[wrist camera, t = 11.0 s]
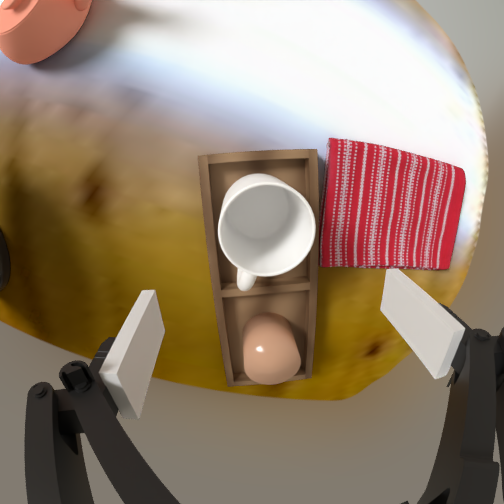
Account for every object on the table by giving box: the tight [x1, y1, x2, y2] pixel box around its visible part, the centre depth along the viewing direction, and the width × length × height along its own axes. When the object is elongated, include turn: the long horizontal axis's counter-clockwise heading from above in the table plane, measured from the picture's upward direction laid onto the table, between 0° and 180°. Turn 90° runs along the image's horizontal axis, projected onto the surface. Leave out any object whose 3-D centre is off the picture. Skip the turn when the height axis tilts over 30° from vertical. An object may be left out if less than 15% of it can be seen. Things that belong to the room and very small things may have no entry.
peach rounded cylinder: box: [242, 312, 301, 385], centre depth 36 cm, size 7×7×7 cm
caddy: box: [198, 149, 319, 386], centre depth 36 cm, size 13×33×3 cm, turn 4°
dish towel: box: [318, 138, 466, 270], centre depth 35 cm, size 17×24×3 cm
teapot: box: [0, 0, 92, 64], centre depth 17 cm, size 22×15×12 cm
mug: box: [218, 173, 316, 291], centre depth 29 cm, size 12×8×10 cm
